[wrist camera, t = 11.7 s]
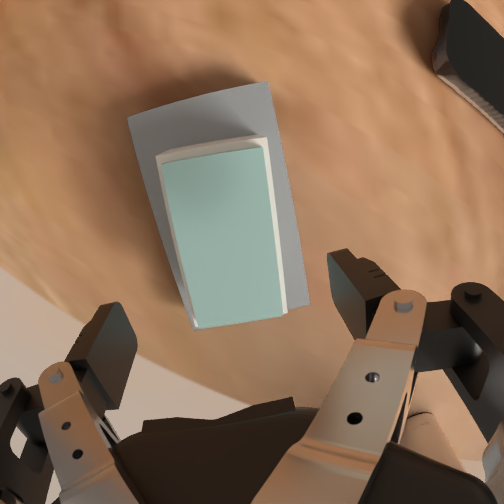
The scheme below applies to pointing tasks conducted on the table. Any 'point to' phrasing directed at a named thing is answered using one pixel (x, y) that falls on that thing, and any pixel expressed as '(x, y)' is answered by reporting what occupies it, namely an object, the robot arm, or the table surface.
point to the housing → (225, 229)
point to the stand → (212, 129)
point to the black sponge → (471, 59)
